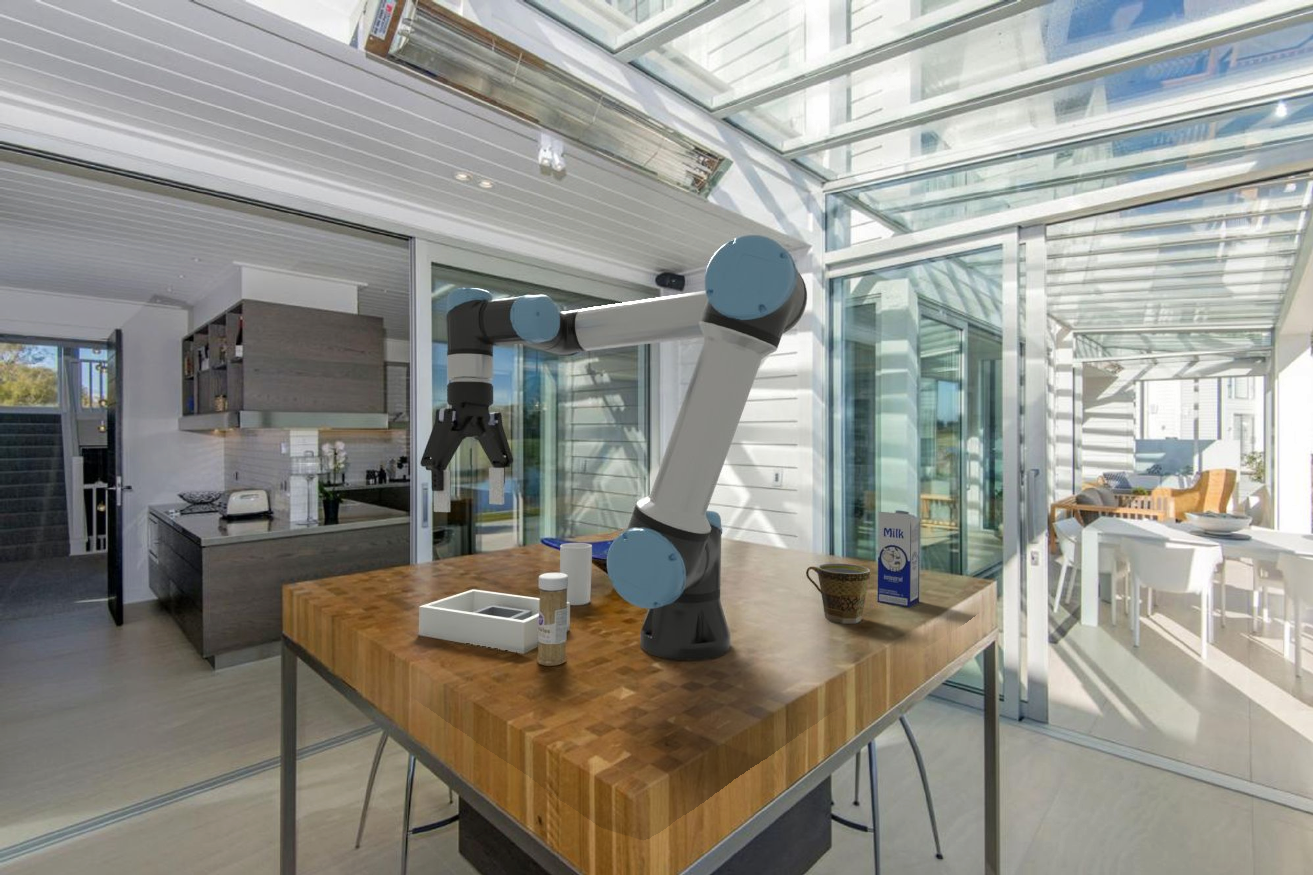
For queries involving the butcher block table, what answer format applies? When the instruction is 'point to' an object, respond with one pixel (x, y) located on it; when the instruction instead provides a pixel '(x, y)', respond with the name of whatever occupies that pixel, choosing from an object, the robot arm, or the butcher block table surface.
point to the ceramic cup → (842, 590)
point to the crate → (485, 620)
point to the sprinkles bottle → (552, 619)
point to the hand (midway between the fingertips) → (471, 508)
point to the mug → (577, 571)
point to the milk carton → (898, 558)
